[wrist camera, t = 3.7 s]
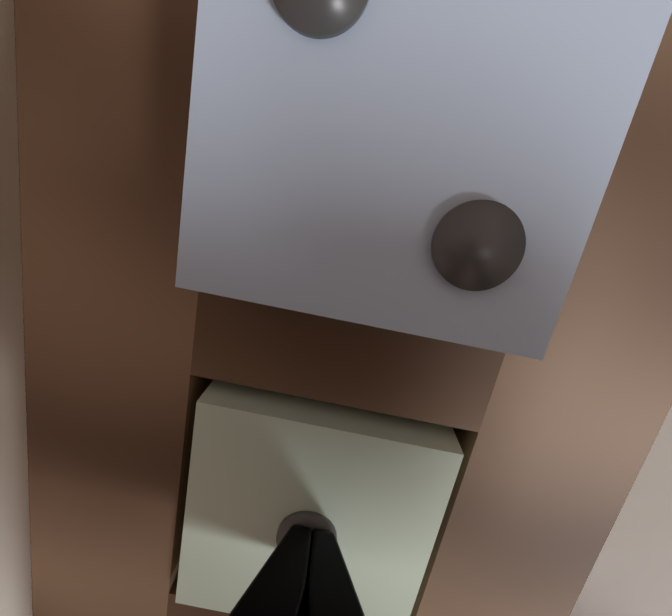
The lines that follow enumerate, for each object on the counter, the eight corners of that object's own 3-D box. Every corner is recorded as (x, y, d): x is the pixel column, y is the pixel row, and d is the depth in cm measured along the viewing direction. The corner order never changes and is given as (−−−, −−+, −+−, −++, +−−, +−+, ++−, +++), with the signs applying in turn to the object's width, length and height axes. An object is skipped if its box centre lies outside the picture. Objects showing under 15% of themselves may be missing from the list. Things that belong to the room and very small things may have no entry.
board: (428, 755, 14) (443, 873, 11) (93, 690, 14) (37, 794, 11) (735, 1, 8) (913, -92, 5) (118, -127, 7) (5, -281, 5)
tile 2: (492, 316, 7) (547, 364, 5) (223, 262, 7) (170, 289, 5) (594, -1, 6) (727, -110, 4) (261, -70, 6) (209, -218, 4)
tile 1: (392, 564, 11) (400, 654, 8) (208, 528, 10) (172, 609, 8) (441, 400, 9) (466, 460, 7) (230, 358, 9) (193, 405, 7)
